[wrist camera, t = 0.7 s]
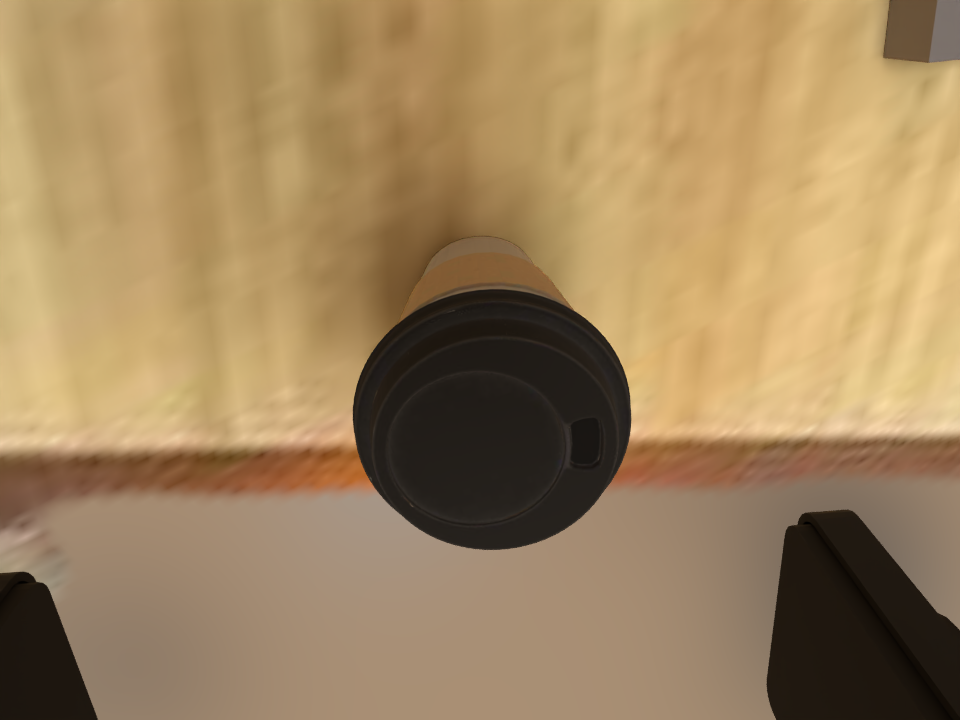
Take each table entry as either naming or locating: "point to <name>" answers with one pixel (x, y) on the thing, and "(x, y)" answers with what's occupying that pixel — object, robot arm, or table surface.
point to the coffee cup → (491, 403)
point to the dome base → (923, 30)
